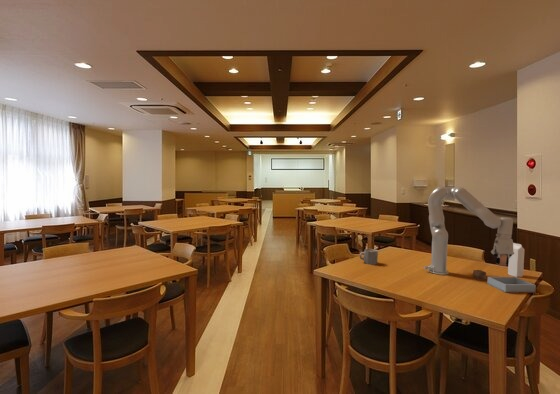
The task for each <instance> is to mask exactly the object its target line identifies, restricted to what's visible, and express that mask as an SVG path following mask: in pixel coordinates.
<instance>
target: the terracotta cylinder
mask: <svg viewBox="0 0 560 394" xmlns="http://www.w3.org/2000/svg"><path fill="white" fill-rule="evenodd" d="M499 258H500V263H499V264H497V263H496V265H497V266H500V267H506V266H507V264H506V261H507V255H506V254H500V256H499Z"/></svg>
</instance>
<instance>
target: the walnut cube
mask: <svg viewBox="0 0 560 394" xmlns="http://www.w3.org/2000/svg"><path fill="white" fill-rule="evenodd" d="M472 271H473V273H472V278H473V277H474V279H476V280H477V281H486V280H487V279H486V278H487V272H486V271H483V270H482V269H472Z"/></svg>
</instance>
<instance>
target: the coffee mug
mask: <svg viewBox="0 0 560 394" xmlns="http://www.w3.org/2000/svg"><path fill="white" fill-rule="evenodd" d="M362 255H363V257H362ZM378 255H379V251H378V249H374V248H365V249H364V251H361V252H360V253H359V258H360V260H362V261H363V264H365V265H371V266H375V265H378Z"/></svg>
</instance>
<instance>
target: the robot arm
mask: <svg viewBox="0 0 560 394" xmlns="http://www.w3.org/2000/svg"><path fill="white" fill-rule="evenodd" d="M444 199H445V200H447V199H449V200H457V202H458V203H460V204H461V205H463V207H464V208H466V209H467V210H468V211H469V212H470V213H472V214H473V215H475V216H477V217H478V218H479V219H480V220H481V221H482V222H483V224H484V225H485V226H487V227H489V228H491V229H497V231H496V232H497V233H496V234H495V236H496V237H495V239H494V243H493V249H491V251H490V253H491V254H492V255H493V256H494V258H495V259H494V264H496V265H497V264H499V263H500V258H499V256H500V254H506V255H507V261H506V266H508V264H509V258H510V257H511V256H512V255H513V254H514V252H513V243H514V240H513V238H512V235H513V226H514V219H513V218H511V217H507V216H506V217H505V216H504V217H503V216H502V217H501V216H498V215H497V214H494V213H493V212H492V211H491V210H490V209H489V208H487V206H486V205H484V204H483V203H482V202H481V201H479V200H478V199H477V198H476V197H475V196H474V195H472V194H471V192H469V191H468V189H466V188H464V187H461V186H460V187H459V186H437V187H436V188H434V190H433V191H432V192H431V193H430V195H429V197H428V199H427V207H428V213H429V215H428V223H429V228H430V233H431V237H432V239H431V262H430V264H429V265H428V266H427V265H424V266H423V269H424V270H428V272H429V273H432V274H434V275H441V276H442V275H443V276H445V275H449V274H450V271H449V270H447V260H448V244H449V243H448V242H449V241H448V240H449V232H448V231H447V230H446V225H445V221H446V220H445V218H446V217H445V215H444V211H443V205H442V204H443V201H444Z"/></svg>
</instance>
